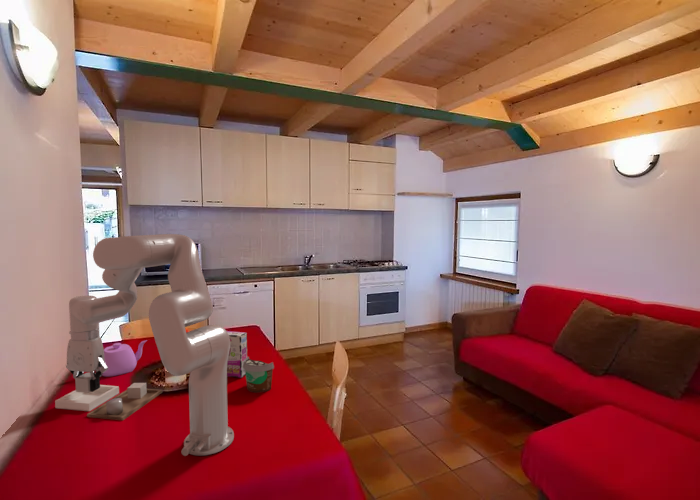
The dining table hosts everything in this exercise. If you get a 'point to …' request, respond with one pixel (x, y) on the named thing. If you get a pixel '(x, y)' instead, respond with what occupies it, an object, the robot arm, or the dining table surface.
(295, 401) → the dining table surface
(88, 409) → the dish
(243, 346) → the candy bar box
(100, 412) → the walnut tray
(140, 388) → the white cube
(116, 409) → the pebble round
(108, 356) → the teapot
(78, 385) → the stone cube
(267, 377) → the food container
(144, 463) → the dining table surface
